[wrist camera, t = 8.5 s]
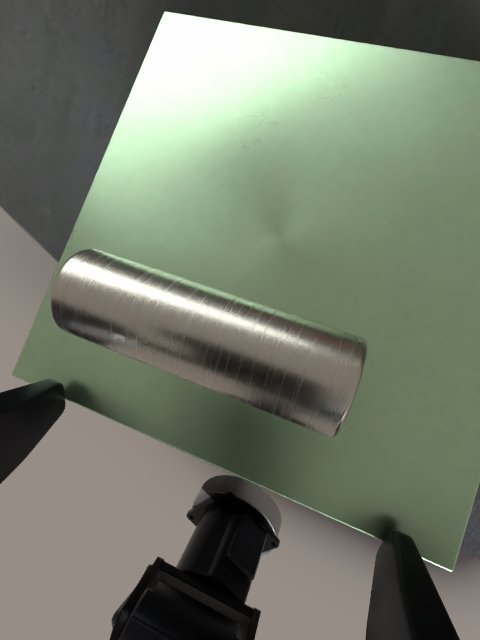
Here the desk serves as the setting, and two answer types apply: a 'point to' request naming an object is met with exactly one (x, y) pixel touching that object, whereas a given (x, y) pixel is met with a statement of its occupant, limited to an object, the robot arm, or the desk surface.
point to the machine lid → (287, 273)
